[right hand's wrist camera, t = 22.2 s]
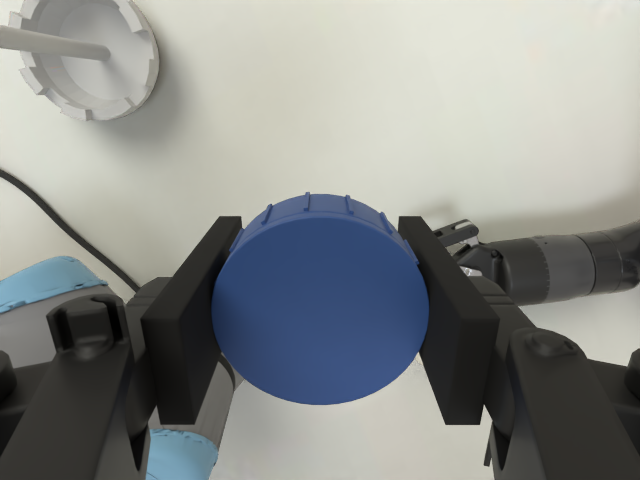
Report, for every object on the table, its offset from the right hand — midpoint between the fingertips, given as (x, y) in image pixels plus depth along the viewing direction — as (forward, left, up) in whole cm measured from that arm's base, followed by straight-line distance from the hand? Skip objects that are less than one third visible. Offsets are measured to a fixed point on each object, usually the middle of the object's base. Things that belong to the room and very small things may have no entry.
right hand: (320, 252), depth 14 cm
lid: (0, 0, +4) cm, 4 cm away
